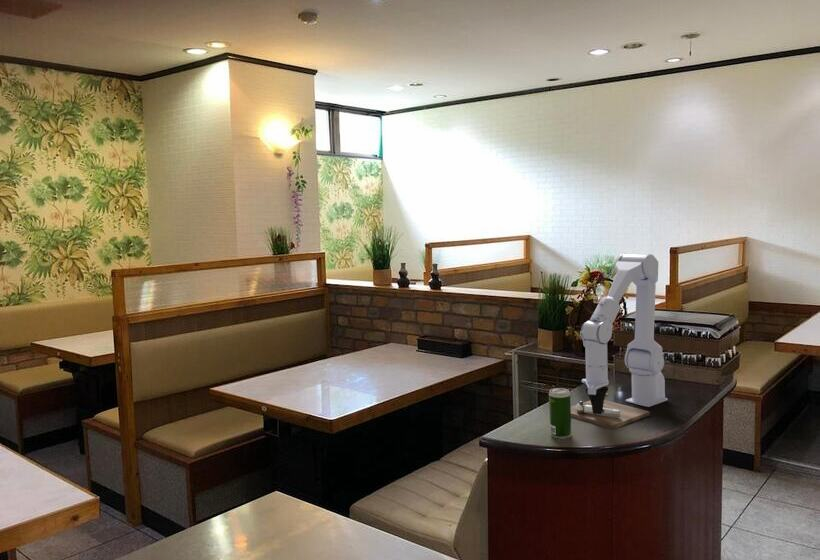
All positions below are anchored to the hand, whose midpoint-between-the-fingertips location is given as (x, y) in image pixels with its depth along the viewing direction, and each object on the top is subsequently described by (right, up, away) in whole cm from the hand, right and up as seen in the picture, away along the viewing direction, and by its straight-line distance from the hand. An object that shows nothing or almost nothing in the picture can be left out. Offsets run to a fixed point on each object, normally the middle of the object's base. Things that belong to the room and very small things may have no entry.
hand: (597, 413), depth 179 cm
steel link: (0, -1, +1) cm, 2 cm away
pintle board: (+3, -1, +5) cm, 6 cm away
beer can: (-12, -4, -9) cm, 16 cm away
